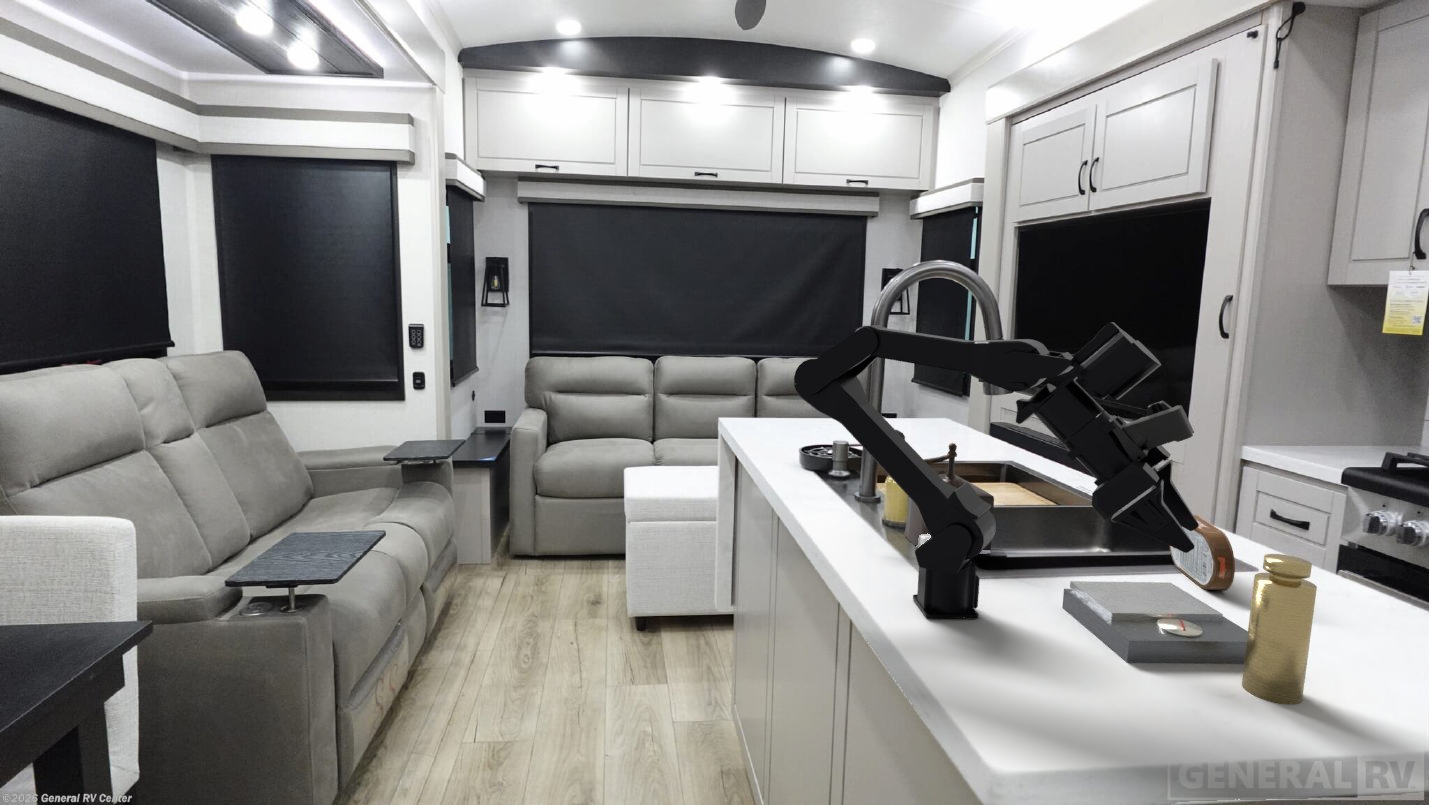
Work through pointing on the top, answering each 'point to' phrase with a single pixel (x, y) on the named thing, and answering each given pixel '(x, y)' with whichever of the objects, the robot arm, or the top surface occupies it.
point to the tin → (1207, 557)
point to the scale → (1155, 623)
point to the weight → (1279, 630)
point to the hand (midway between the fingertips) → (1193, 538)
